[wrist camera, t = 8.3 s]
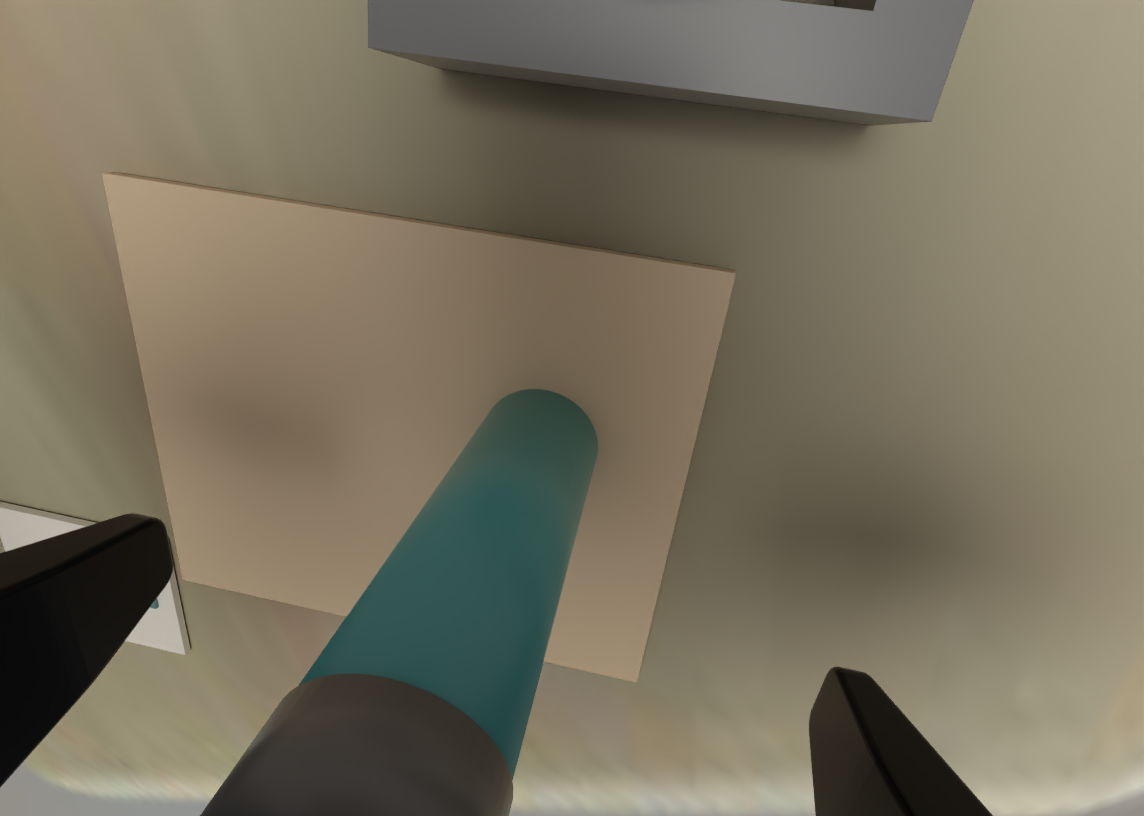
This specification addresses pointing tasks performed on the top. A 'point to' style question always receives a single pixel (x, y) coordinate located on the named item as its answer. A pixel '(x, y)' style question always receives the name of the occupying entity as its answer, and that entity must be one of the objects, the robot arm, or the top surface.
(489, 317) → the beige rectangular board
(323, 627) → the top surface
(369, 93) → the top surface
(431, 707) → the marker
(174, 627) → the card
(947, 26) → the button housing
